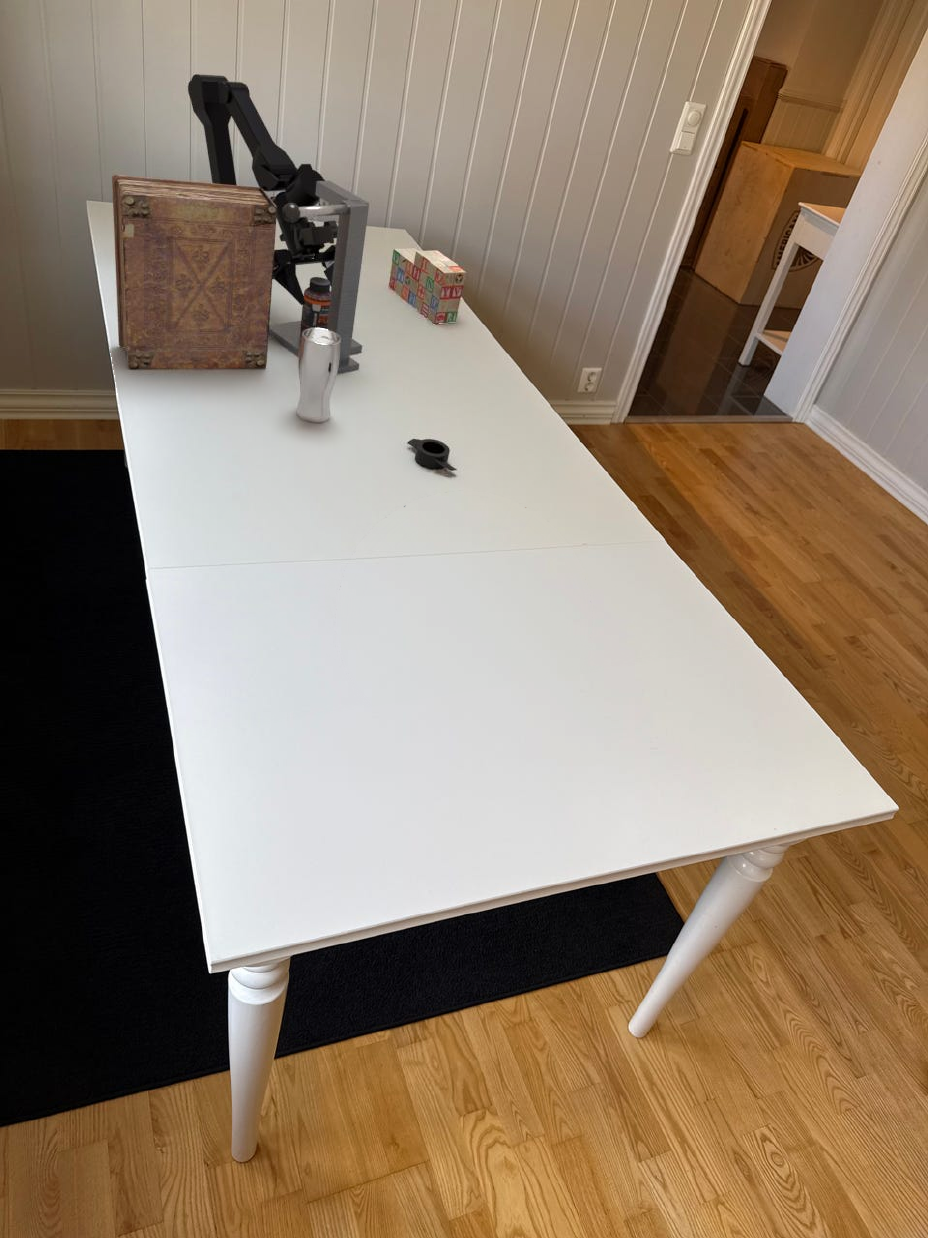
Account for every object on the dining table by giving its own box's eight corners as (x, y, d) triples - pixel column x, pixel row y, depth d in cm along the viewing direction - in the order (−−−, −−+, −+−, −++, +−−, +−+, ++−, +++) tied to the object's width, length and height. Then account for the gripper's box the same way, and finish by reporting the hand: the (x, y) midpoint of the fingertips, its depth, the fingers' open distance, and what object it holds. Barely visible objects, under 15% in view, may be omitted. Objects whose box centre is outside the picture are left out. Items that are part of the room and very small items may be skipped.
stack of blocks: (387, 286, 213) (395, 234, 205) (409, 286, 216) (417, 234, 208) (434, 325, 201) (444, 271, 193) (456, 323, 204) (467, 271, 196)
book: (127, 369, 157) (119, 193, 138) (118, 346, 163) (110, 173, 144) (266, 368, 168) (277, 205, 149) (254, 347, 174) (263, 187, 155)
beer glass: (315, 428, 155) (324, 348, 145) (285, 412, 157) (292, 332, 147) (340, 416, 160) (350, 338, 150) (310, 401, 162) (318, 323, 152)
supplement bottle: (319, 344, 177) (325, 289, 170) (294, 334, 178) (298, 279, 171) (334, 335, 182) (340, 281, 175) (309, 325, 183) (314, 271, 176)
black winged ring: (446, 448, 160) (449, 434, 158) (457, 478, 152) (460, 464, 151) (404, 445, 157) (407, 431, 156) (414, 476, 150) (416, 461, 148)
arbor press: (222, 339, 173) (227, 168, 153) (320, 323, 188) (337, 166, 168) (281, 385, 164) (295, 210, 144) (379, 365, 179) (404, 203, 159)
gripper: (272, 206, 160) (303, 289, 162) (353, 201, 172) (380, 280, 174) (246, 234, 169) (275, 313, 171) (324, 228, 180) (351, 302, 182)
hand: (322, 301), depth 174 cm, fingers open, 9 cm apart
